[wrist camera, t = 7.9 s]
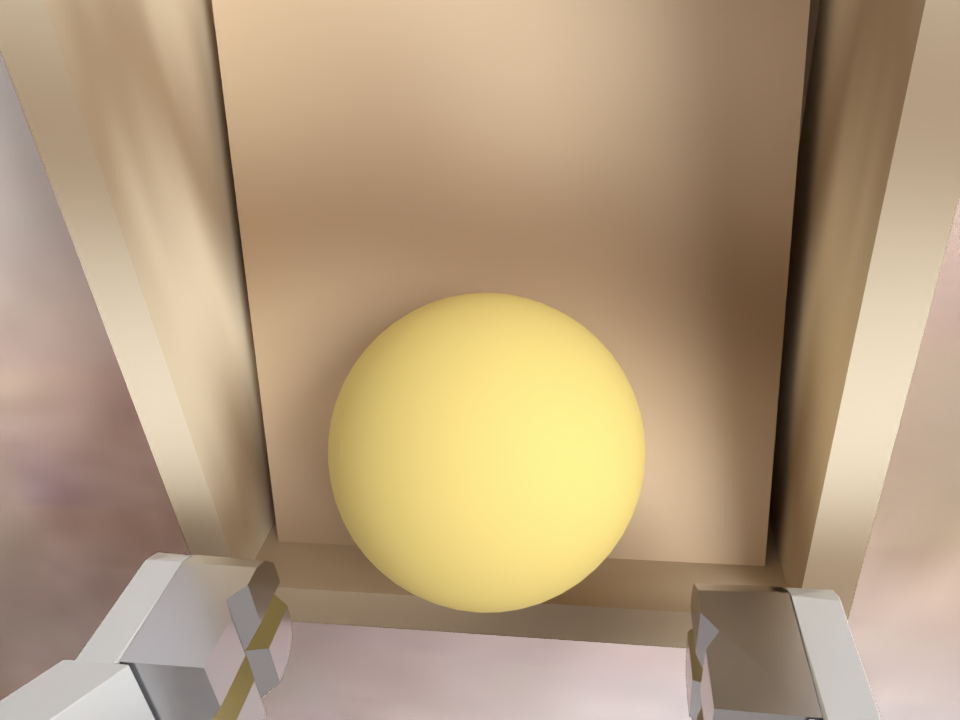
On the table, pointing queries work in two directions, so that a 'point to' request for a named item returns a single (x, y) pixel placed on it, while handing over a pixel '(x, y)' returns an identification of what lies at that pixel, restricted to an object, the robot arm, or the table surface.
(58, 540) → the table surface
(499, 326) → the ball
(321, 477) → the tan wooden tray
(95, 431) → the table surface
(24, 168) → the table surface
